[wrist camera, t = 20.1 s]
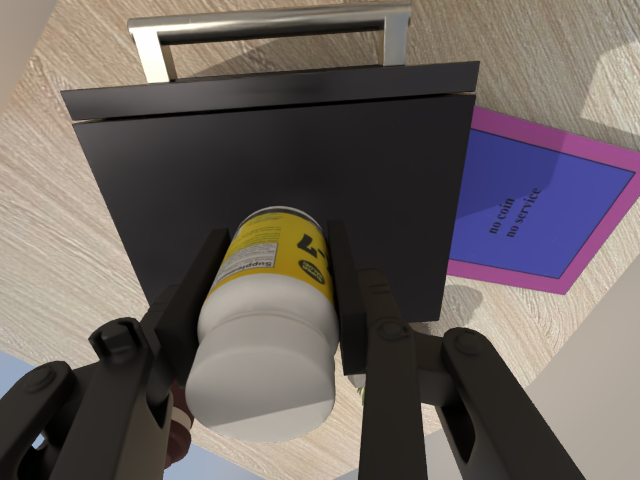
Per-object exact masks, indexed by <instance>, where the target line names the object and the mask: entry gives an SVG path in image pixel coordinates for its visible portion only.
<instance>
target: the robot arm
mask: <svg viewBox="0 0 640 480" xmlns="http://www.w3.org/2000/svg"><path fill="white" fill-rule="evenodd" d="M327 229H328V246H329V253H330V260H331V267H332V274H333V280H334V288H335V295H336V302H337V310H338V315H339V323H340V339H339V342H340V350H341V357H342V365H343V373H344V376H346V375H358V374H366V381H365V394H364V407H363V420H362V433H361V447H360V460H359V474H358V480H428V475H427V464H426V454H425V443H424V433H423V422H422V411H421V403H425V404H429V405H434V406H435V409H436V412H437V414H438V417H439V419H440V422H441V424H442V427H443V429H444V432H445V434H446V437H447V440H448V442H449V445H450V447H451V450H452V453H453V455H454V457H455V460H456V463H457V465H458V468H459V470H460V473H461V476H462V478H463V480H586V479H585V477H584V476H583V475H582V473H581V472H580V470H579V469H578V467H577V466H576V465H575V463H574V462H573V460H572V459H571V457H570V456H569V455H568V453H567V452H566V450H565V449H564V447H563V446H562V444H561V443H560V442H559V440H558V439H557V437H556V436H555V434H554V433H553V432H552V430H551V429H550V427H549V426H548V424H547V423H546V422H545V420H544V418H543V417H542V415H541V414H540V413H539V411H538V410H537V408H536V407H535V405H534V404H533V403H532V401H531V400H530V398H529V397H528V395H527V394H526V392H525V391H524V390H523V388H522V387H521V385H520V384H519V382H518V381H517V379H516V378H515V377H514V375H513V374H512V372H511V371H510V369H509V368H508V366H507V365H506V364H505V362H504V361H503V359H502V358H501V356H500V355H499V353H498V352H497V351H496V349H495V348H494V346H493V345H492V343H491V342H490V341H489V340H488V339H487V338H486V337H485V336H484V335H482V334H481V333H479V332H477V331H475V330H472V329H469V328H462V327H456V328H452V329H449V330H448V331H447V332H445V333H444V336H443V337H438V336H432V335H427V334H423V333H420V332H417V331H415V330H413V329H412V327H411V326H410V325H409V324H408V323H407V322H406V321H404V320H403V318H402V316H401V314H400V311H399V309H398V306H397V304H396V301H395V299H394V296H393V294H392V292H391V289H390V286H389V285H388V281H387V279H386V276H385V275H384V274H383V273H382V272H381V271H380V270H379V269H378V268H370V269H357V270H356V268H355V264H354V261H353V257H352V253H351V249H350V245H349V242H348V238H347V234H346V230H345V226H344V223H343V219H339V220H327ZM230 244H231V238H230V233H229V229H228V228H222V229H212V231H211V233H210V234H209V236H208V238H207V240H206V241H205V243H204V245H203V246H202V248H201V250H200V251H199V253H198V255H197V257H196V258H195V260H194V262H193V263H192V265H191V267H190V268H189V270H188V272H187V274H186V275H185V277H184V279H183V280H182V282H181V284H177V285H169V286H168V287H166V288H165V289H164V290H163V291H161V292H160V293H159V294H158V296H157V297H156V299H155V300H154V302H153V305H151V306H150V308H149V309H148V312H147V313H146V314H145V315H144V317H143V318H142V320H141V321H140V323H139V322H138V321H137V320H136V319H135V318H131V317H125V318H119V319H115V320H112V321H110V322H108V323H106V324H104V325H102V326H101V327H99V328H98V329H97V330H95V331H94V332H93V333H92V334H91V336H90V337H89V338H88V340H89V342H90V344H91V345H92V347H93V349H94V350H95V352H96V354H97V355H98V357H99V359H100V360H99V362H96V363H93V364H90V365H87V366H83V367H80V368H77V369H74V370H72V369H71V368H70V366H69V365H68V364H67V363H66V362H65V361H53V362H48V363H46V364H43V365H41V366H38V367H36V368H35V369H33V370H31V371H30V372H28V373H27V374H25V375H24V376H23V377H22V378H21V379H19V380H18V381H17V382H16V383H15V384H14V386H13V387H12V388H11V389H10V390H9V391H8V392H7V393H6V394H5V395H4V396H3V397H2V398H1V400H0V480H163V473H164V466H165V459H166V452H167V445H168V438H169V430H170V423H171V416H172V409H173V402H174V401H173V395H172V392H171V390H170V389H171V387H172V384H173V382H174V380H175V379H176V381H177V383H178V386H179V388H180V389H186V383H187V380H188V377H189V374H190V371H191V368H192V365H193V363H194V360H195V357H196V353H197V350H198V347H199V346H200V345H199V341H198V335H197V327H198V319H199V316H200V312H201V309H202V306H203V304H204V302H205V300H206V298H207V295H208V293H209V291H210V289H211V287H212V285H213V282H214V280H215V278H216V275H217V273H218V271H219V269H220V266H221V264H222V262H223V260H224V257H225V255H226V253H227V251H228V248H229V246H230ZM39 434H41V435H42V436H43V437H44V438H45V440H44V441H43V443H42V444H41V445H40V446H39V447H38V448H37V449H34V447H33V446H32V444H33V442H34V441H35V440H36V438H37V437H38V436H39Z"/></svg>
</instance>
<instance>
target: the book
mask: <svg viewBox="0 0 640 480" xmlns="http://www.w3.org/2000/svg"><path fill="white" fill-rule="evenodd" d="M639 196H640V152H637V151H634V150H630V149H626V148H623V147H619V146H616V145H612V144H609V143H605V142H602V141H598V140H595V139H591V138H588V137H584V136H581V135H577V134H574V133H570V132H566V131H563V130H559V129H556V128H552V127H549V126H545V125H542V124H538V123H535V122H531V121H528V120H524V119H521V118H517V117H514V116H510V115H506V114H503V113H499V112H496V111H492V110H489V109H485V108H482V107H478V106H475V105H474V111H473V117H472V123H471V129H470V135H469V141H468V147H467V153H466V159H465V166H464V172H463V178H462V184H461V190H460V196H459V202H458V208H457V214H456V220H455V226H454V232H453V238H452V244H451V250H450V256H449V262H448V268H447V274H446V275H450V276H456V277H461V278H467V279H473V280H479V281H485V282H490V283H496V284H502V285H508V286H514V287H519V288H525V289H531V290H537V291H543V292H548V293H554V294H560V295H565V294H566V293H567V292H568V290H569V289H570V288H571V286H572V285H573V284H574V282H575V281H576V280H577V278H578V277H579V276H580V274H581V273H582V272H583V270H584V269H585V268H586V266H587V265H588V264H589V262H590V261H591V260H592V258H593V257H594V256H595V254H596V253H597V252H598V250H599V249H600V248H601V246H602V245H603V244H604V243H605V241H606V240H607V239H608V237H609V236H610V235H611V233H612V232H613V231H614V229H615V228H616V227H617V225H618V224H619V223H620V221H621V220H622V219H623V217H624V216H625V215H626V213H627V212H628V211H629V209H630V208H631V207H632V205H633V204H634V203H635V201H636V200H637V199H638V197H639Z"/></svg>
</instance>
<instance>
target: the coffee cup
mask: <svg viewBox="0 0 640 480" xmlns="http://www.w3.org/2000/svg"><path fill="white" fill-rule="evenodd" d="M170 390H171V392H172V395H173V401H174V402H173V409H172V416H171V423H170V430H169V438H168V445H167V452H166V459H165V466H164V469H166V468H168V467H169V466H171V464H172V463H175V462H178V461H179V460H181V459H183V458H184V457H185V456H186V454H187V453H188V450H189V447H190V443H191V434H190V432H189V431H190V429H191V428H192V425H193V422H194V416H193V415H192V413H191V412H190V410H189V408H188V405H187V402H186V397H185V389H180V388H179V386H178V383H177V381H176V379H175V380H174V382H173V384H172V387H171V389H170Z"/></svg>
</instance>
